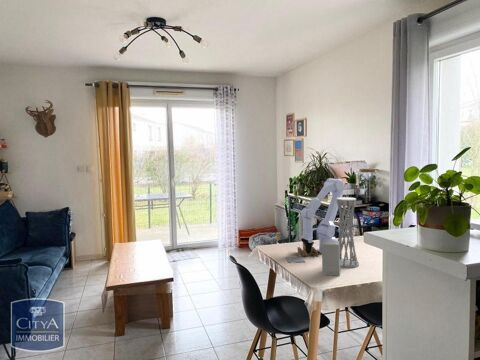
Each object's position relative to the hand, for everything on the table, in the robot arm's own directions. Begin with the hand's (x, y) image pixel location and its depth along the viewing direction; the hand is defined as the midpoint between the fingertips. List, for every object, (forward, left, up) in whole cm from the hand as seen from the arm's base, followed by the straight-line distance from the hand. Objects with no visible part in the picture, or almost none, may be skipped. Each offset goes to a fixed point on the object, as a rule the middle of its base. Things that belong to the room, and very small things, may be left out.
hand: (307, 252), depth 205 cm
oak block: (0, 0, -1) cm, 1 cm away
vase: (-16, +19, -2) cm, 25 cm away
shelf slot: (0, 0, -1) cm, 1 cm away
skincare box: (-4, +33, -2) cm, 33 cm away
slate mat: (+9, +10, -1) cm, 14 cm away
